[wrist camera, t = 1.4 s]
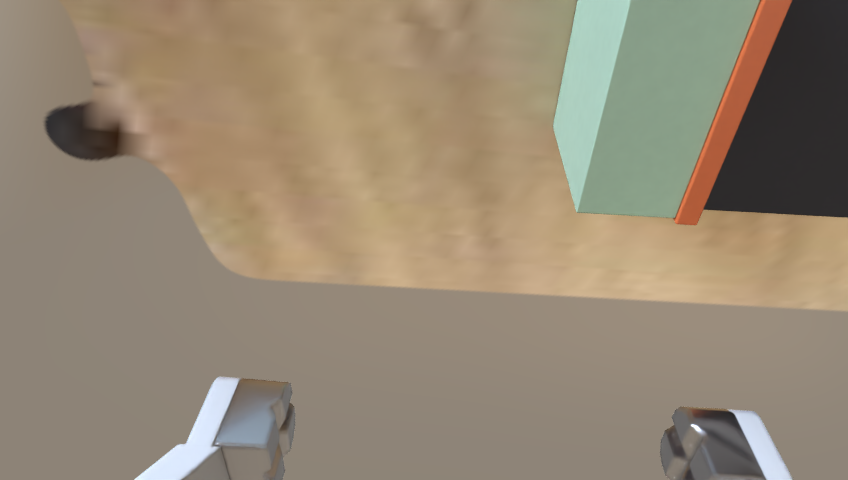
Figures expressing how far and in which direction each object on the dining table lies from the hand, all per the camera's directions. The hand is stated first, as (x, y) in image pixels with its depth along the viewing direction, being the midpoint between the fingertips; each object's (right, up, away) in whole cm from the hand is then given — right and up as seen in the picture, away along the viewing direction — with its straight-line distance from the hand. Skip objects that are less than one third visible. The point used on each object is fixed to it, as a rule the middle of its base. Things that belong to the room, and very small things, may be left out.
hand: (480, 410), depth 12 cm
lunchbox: (+9, +15, +17) cm, 24 cm away
